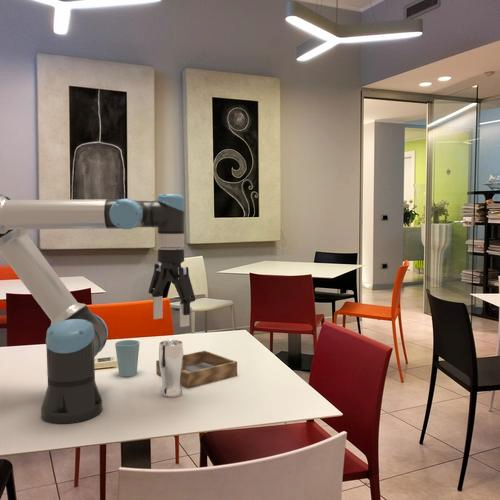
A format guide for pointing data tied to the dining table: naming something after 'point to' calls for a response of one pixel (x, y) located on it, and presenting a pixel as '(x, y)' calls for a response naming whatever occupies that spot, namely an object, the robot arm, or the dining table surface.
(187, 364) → the caddy
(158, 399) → the dining table surface
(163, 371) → the shiny metal cylinder
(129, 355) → the cup
